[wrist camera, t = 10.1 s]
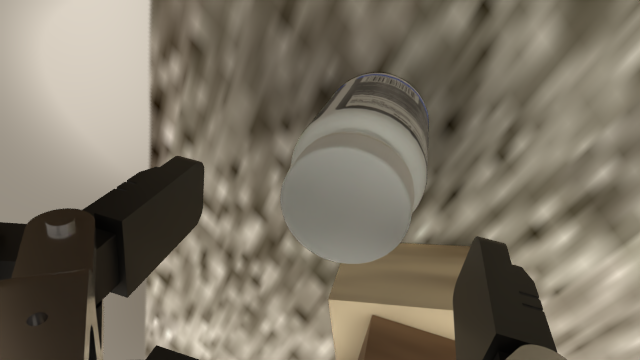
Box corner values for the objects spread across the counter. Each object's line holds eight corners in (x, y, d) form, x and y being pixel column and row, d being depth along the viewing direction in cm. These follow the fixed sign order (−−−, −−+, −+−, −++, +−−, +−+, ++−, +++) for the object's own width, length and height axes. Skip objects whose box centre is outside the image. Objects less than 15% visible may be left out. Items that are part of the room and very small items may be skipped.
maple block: (348, 237, 23) (328, 299, 19) (505, 245, 21) (522, 316, 17) (358, 344, 27) (343, 417, 22) (494, 360, 24) (506, 444, 20)
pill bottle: (358, 181, 21) (317, 292, 14) (310, 101, 20) (237, 177, 13) (447, 142, 19) (453, 247, 12) (399, 50, 18) (373, 105, 11)
